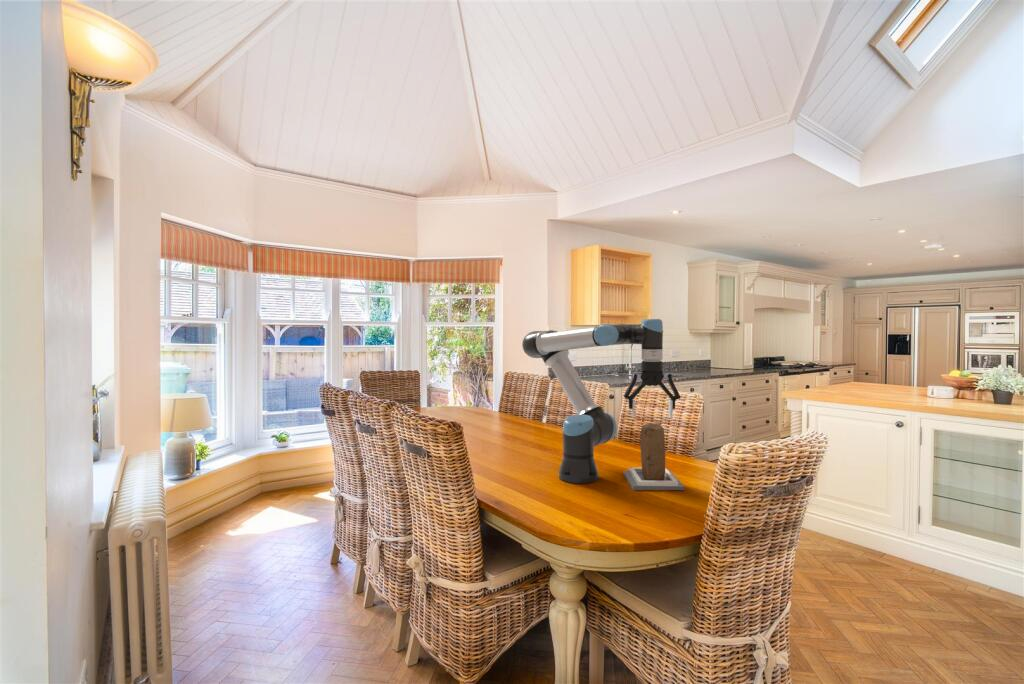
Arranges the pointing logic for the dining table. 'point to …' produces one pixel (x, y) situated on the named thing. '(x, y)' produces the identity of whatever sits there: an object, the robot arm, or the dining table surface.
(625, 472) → the base plate
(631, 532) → the dining table surface
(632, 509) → the dining table surface
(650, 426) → the block
